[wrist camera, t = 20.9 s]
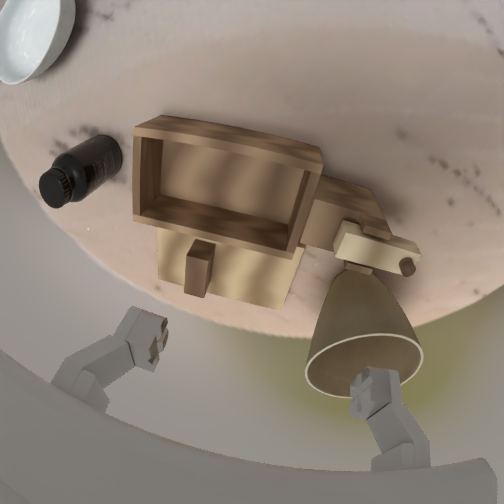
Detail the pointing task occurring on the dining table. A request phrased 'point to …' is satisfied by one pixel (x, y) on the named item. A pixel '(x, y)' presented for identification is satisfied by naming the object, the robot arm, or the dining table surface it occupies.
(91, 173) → the supplement bottle
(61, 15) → the cereal bowl
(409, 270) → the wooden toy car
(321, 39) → the dining table surface
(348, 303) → the plant pot
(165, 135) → the open wooden box
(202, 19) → the dining table surface
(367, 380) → the robot arm
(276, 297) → the lid
